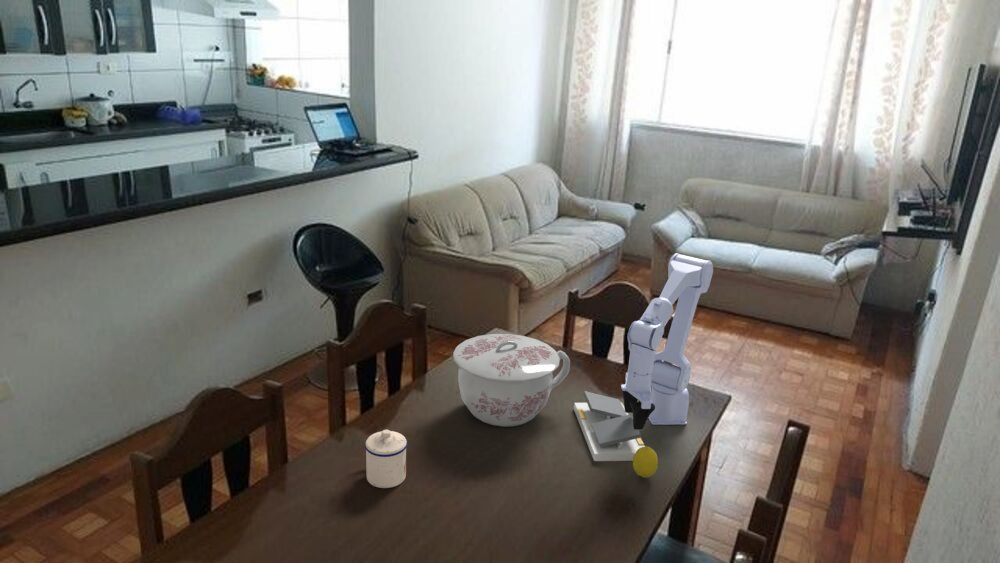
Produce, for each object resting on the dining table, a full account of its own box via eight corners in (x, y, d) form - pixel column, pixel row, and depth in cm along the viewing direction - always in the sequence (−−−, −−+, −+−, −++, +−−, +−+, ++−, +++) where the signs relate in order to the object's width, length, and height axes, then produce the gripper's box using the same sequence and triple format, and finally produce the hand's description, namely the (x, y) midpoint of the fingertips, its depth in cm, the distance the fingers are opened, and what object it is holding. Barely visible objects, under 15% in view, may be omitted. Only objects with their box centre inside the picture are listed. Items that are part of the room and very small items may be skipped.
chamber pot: (432, 424, 176) (434, 350, 169) (476, 379, 200) (479, 312, 193) (537, 452, 167) (543, 375, 160) (570, 401, 191) (576, 332, 184)
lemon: (655, 486, 156) (660, 455, 154) (630, 482, 157) (634, 451, 155) (655, 472, 162) (659, 442, 159) (631, 468, 163) (635, 438, 160)
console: (620, 408, 188) (622, 398, 187) (647, 460, 166) (649, 448, 165) (573, 409, 187) (574, 398, 186) (594, 461, 164) (595, 449, 163)
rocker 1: (616, 404, 186) (618, 398, 186) (626, 423, 177) (628, 417, 177) (582, 395, 184) (584, 390, 184) (590, 414, 175) (592, 409, 175)
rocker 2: (630, 419, 174) (629, 413, 174) (641, 440, 165) (640, 434, 165) (592, 428, 174) (590, 423, 173) (601, 450, 165) (599, 444, 164)
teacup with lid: (414, 481, 154) (414, 435, 150) (377, 494, 149) (376, 447, 145) (389, 454, 163) (388, 410, 159) (352, 466, 158) (351, 421, 154)
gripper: (615, 356, 171) (610, 405, 175) (632, 384, 157) (625, 436, 161) (643, 356, 171) (637, 405, 176) (662, 384, 158) (655, 436, 162)
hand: (633, 420), depth 169 cm, fingers open, 7 cm apart
